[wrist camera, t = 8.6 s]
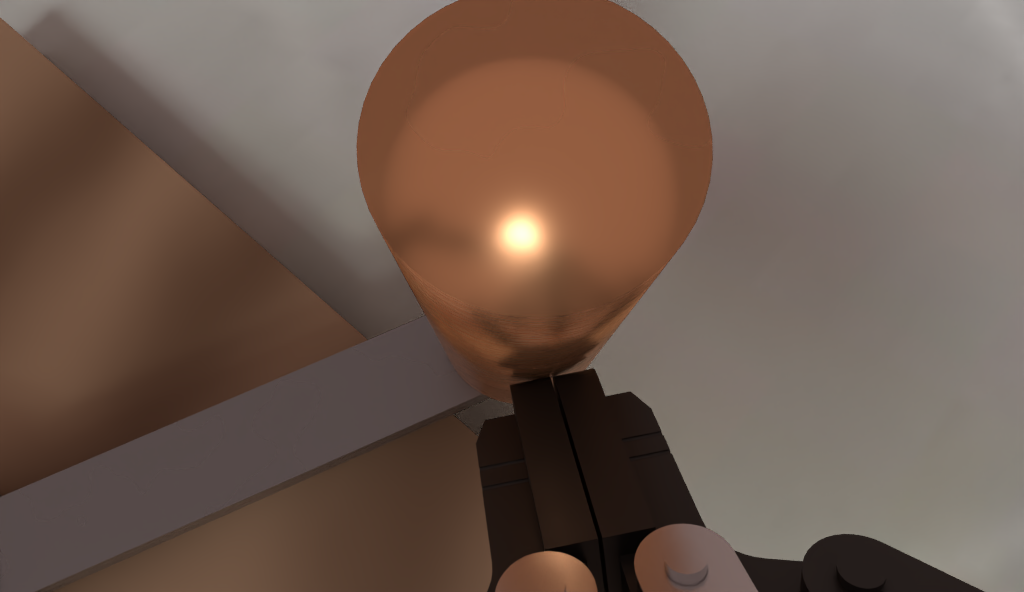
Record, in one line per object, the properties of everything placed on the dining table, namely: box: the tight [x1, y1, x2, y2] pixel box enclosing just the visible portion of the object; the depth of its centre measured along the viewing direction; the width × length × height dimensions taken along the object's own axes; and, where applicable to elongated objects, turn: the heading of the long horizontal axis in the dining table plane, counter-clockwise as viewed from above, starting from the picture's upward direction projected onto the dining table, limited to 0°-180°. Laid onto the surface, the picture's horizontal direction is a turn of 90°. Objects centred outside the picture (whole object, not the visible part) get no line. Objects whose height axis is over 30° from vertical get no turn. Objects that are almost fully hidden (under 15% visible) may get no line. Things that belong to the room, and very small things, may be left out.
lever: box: [0, 0, 713, 592], centre depth 13 cm, size 19×5×12 cm, turn 114°
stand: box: [0, 18, 492, 592], centre depth 19 cm, size 22×27×2 cm
